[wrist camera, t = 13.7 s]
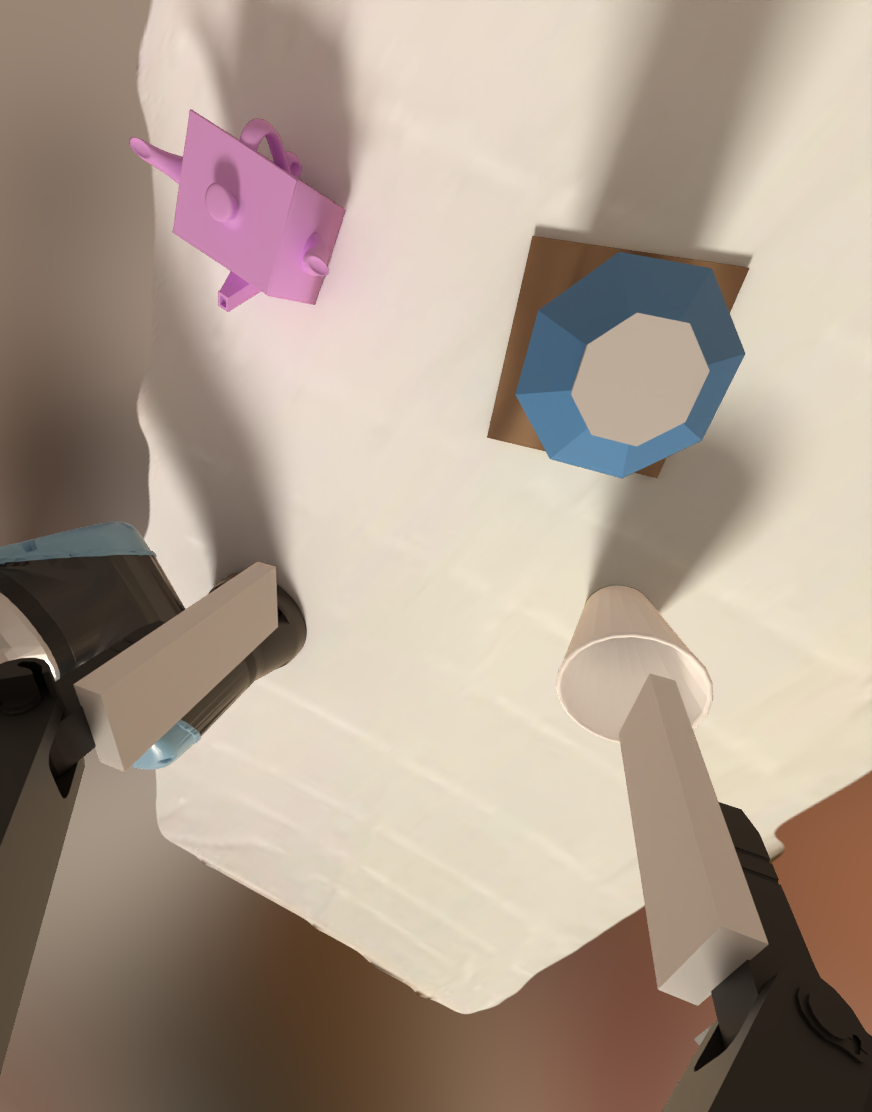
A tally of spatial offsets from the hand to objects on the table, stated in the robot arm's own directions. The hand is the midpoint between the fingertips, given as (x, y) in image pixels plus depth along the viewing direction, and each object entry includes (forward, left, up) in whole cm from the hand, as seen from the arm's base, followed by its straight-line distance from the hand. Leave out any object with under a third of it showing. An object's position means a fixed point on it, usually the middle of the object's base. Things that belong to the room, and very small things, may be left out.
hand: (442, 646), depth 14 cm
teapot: (-26, +14, -31) cm, 43 cm away
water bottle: (+4, +9, -30) cm, 32 cm away
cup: (+14, -14, -31) cm, 37 cm away
